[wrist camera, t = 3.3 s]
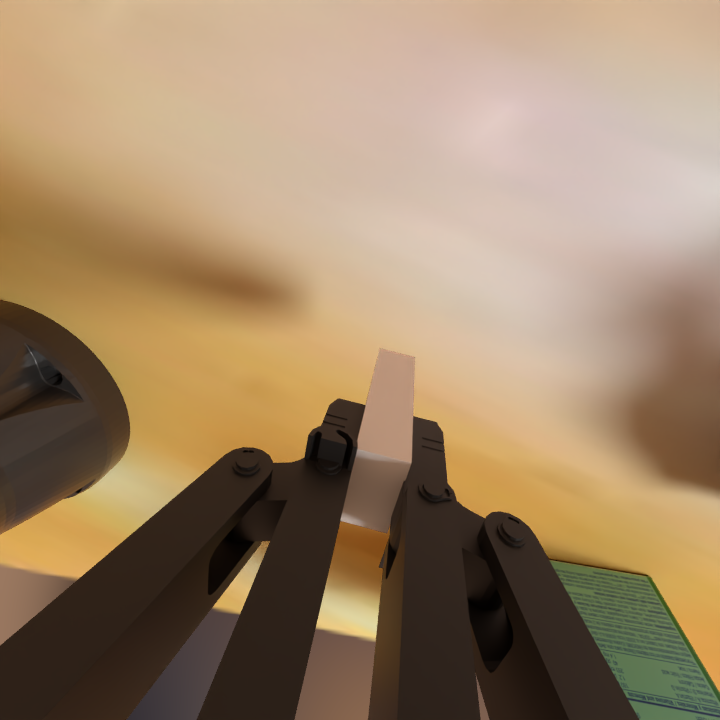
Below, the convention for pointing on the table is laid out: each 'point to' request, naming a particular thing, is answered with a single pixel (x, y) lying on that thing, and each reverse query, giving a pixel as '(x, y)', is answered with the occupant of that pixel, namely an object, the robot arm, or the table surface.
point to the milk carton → (641, 643)
